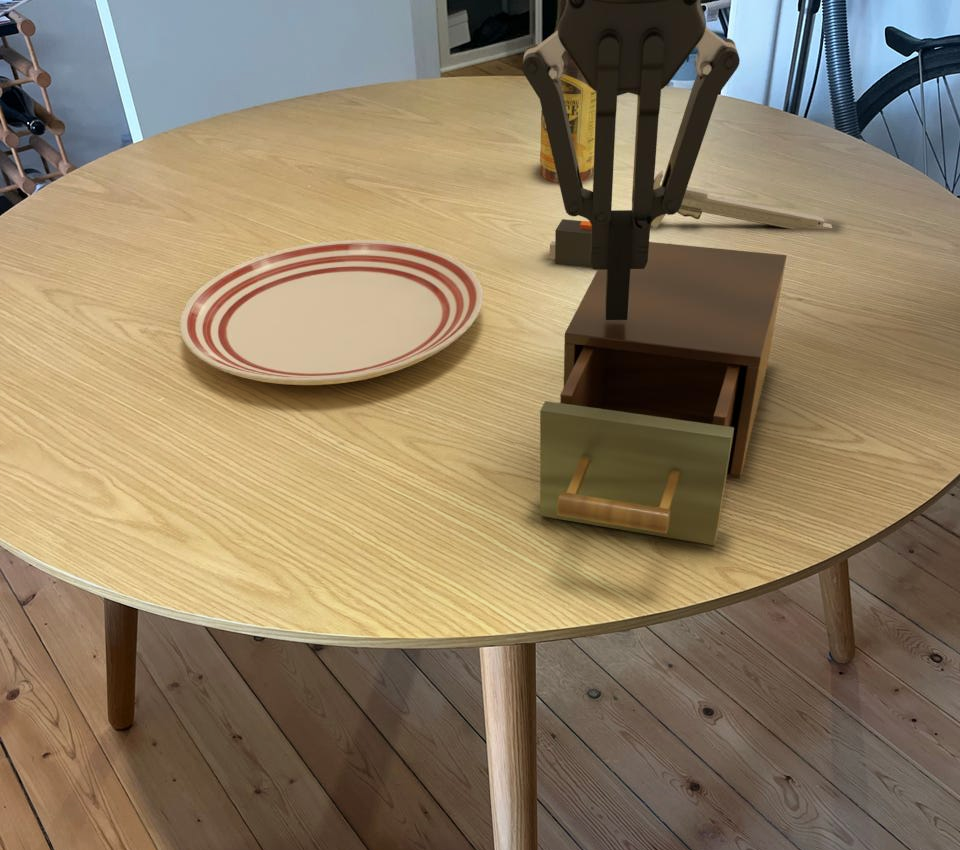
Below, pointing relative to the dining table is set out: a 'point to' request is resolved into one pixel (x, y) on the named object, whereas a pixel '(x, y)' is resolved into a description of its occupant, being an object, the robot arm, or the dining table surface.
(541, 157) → the sauce bottle
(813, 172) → the dining table surface
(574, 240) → the dark grey block
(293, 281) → the dinner plate
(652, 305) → the cabinet
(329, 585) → the dining table surface
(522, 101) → the dining table surface
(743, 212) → the caliper
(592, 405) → the drawer
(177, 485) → the dining table surface
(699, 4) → the robot arm
